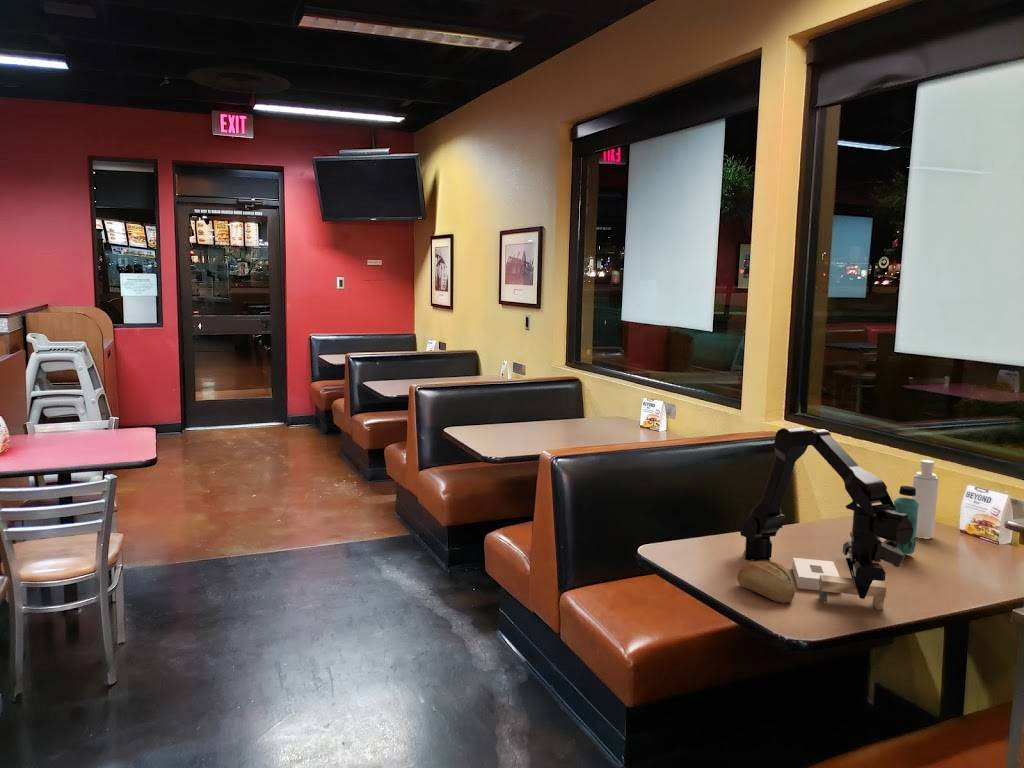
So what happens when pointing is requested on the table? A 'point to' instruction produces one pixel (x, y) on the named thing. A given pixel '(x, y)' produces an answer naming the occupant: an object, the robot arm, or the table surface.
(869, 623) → the table surface
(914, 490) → the beverage bottle
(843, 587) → the tan elongated block
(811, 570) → the white slotted block
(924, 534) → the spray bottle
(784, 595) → the bread roll
